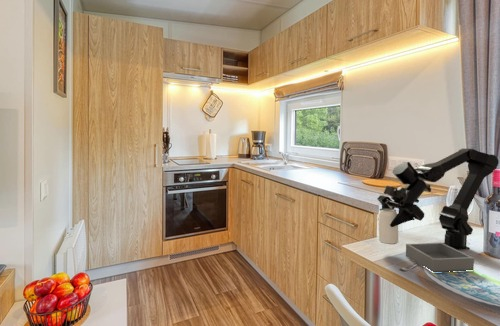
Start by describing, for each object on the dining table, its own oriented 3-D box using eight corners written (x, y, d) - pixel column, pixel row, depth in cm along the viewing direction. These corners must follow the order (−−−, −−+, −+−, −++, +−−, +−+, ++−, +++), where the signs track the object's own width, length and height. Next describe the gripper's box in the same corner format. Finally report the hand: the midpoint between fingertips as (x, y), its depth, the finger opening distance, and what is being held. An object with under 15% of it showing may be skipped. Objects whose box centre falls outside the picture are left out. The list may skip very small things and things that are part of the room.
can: (401, 244, 99) (400, 211, 99) (381, 244, 100) (380, 211, 100) (395, 239, 105) (394, 208, 105) (376, 239, 106) (376, 208, 106)
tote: (440, 254, 102) (441, 242, 101) (473, 271, 88) (474, 258, 88) (405, 255, 101) (406, 243, 100) (433, 273, 87) (433, 259, 87)
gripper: (381, 175, 111) (356, 203, 110) (418, 181, 93) (388, 216, 92) (398, 193, 113) (374, 221, 112) (437, 203, 95) (408, 237, 94)
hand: (384, 223), depth 102 cm, fingers closed on can, 6 cm apart
